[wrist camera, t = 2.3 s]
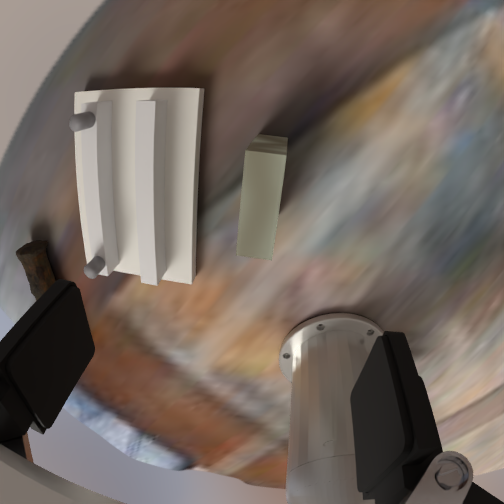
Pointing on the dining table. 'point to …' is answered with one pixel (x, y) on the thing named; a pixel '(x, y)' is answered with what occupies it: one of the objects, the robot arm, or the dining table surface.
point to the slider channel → (139, 180)
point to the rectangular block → (261, 196)
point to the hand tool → (36, 266)
